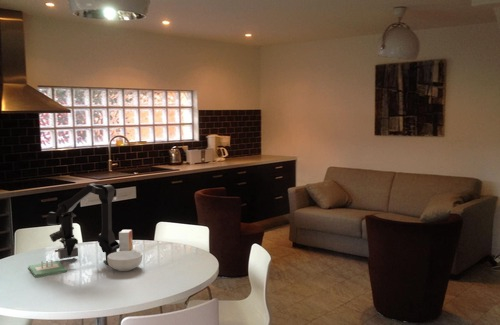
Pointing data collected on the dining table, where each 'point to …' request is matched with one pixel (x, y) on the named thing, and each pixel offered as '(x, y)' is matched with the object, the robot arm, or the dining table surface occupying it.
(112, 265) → the cereal bowl
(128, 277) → the dining table surface
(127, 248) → the small box
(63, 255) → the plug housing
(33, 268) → the pin board
